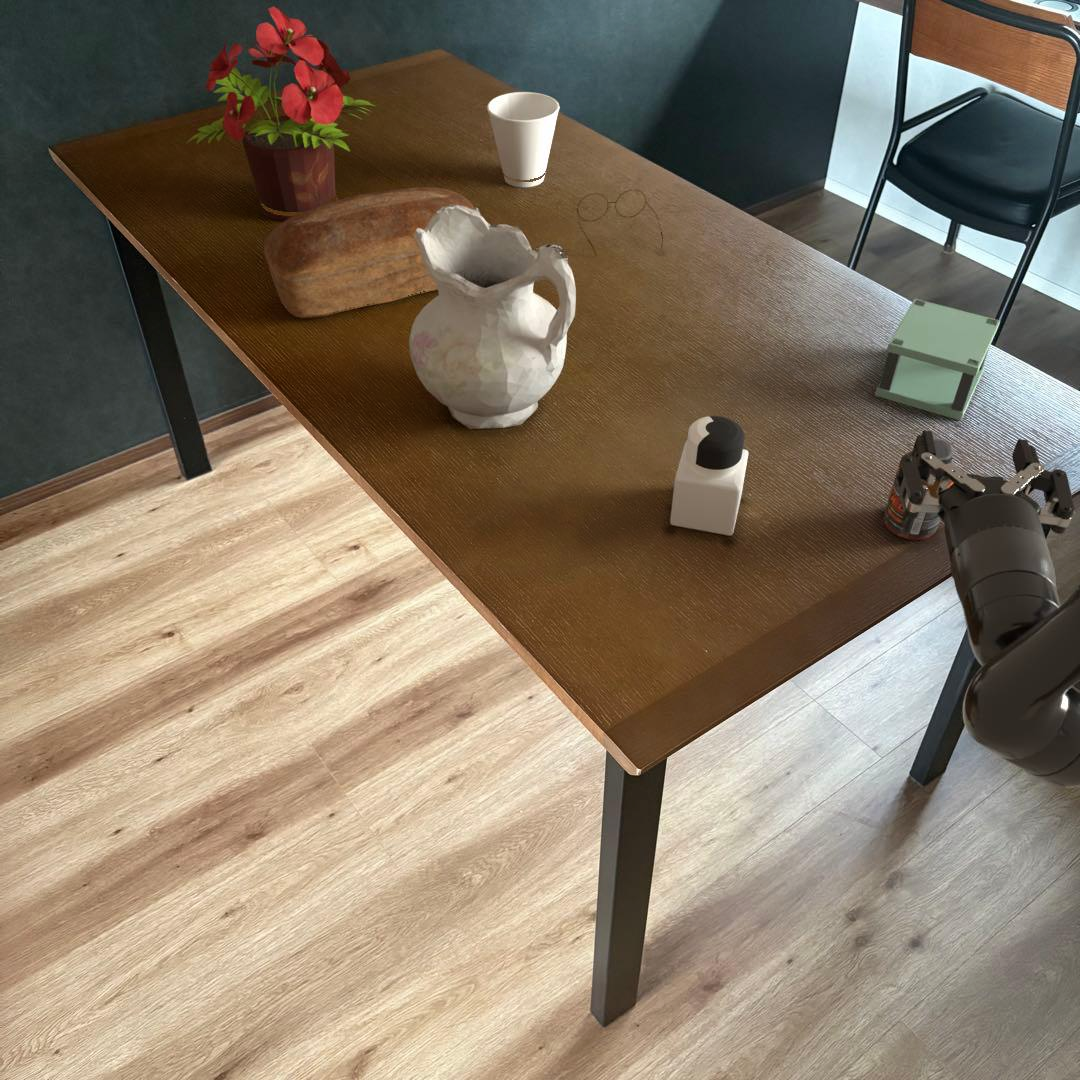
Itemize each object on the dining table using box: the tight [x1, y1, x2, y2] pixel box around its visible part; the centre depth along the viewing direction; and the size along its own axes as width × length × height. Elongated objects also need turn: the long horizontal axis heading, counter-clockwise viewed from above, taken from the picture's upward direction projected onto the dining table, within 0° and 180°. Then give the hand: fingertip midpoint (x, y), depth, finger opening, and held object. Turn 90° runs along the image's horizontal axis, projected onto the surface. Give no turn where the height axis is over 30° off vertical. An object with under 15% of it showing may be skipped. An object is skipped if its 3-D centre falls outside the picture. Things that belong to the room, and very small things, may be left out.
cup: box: [486, 91, 561, 188], centre depth 180 cm, size 12×12×12 cm
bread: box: [263, 186, 476, 320], centre depth 154 cm, size 12×31×14 cm, turn 114°
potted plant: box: [186, 6, 378, 222], centre depth 169 cm, size 30×27×30 cm
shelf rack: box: [874, 298, 1001, 421], centre depth 138 cm, size 11×12×8 cm
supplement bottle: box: [883, 436, 956, 541], centre depth 118 cm, size 6×6×11 cm
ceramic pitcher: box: [408, 204, 577, 430], centre depth 130 cm, size 22×20×25 cm
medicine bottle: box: [669, 415, 749, 537], centre depth 120 cm, size 7×7×12 cm
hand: (971, 442), depth 100 cm, fingers open, 8 cm apart
